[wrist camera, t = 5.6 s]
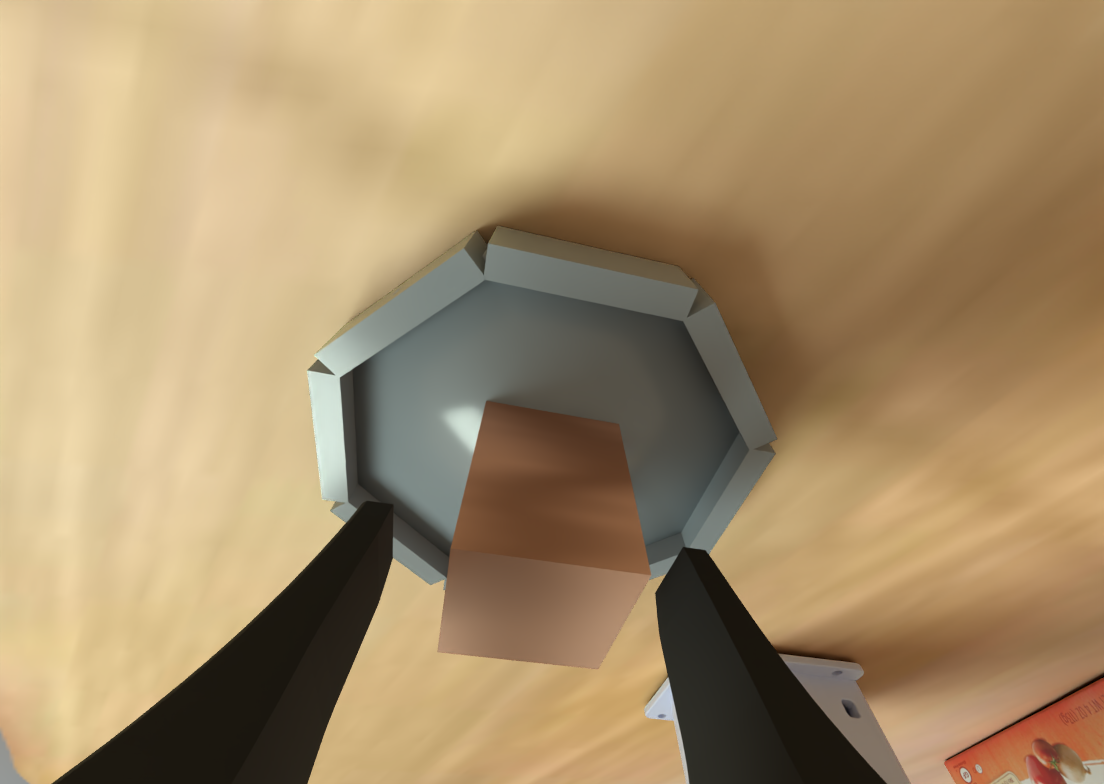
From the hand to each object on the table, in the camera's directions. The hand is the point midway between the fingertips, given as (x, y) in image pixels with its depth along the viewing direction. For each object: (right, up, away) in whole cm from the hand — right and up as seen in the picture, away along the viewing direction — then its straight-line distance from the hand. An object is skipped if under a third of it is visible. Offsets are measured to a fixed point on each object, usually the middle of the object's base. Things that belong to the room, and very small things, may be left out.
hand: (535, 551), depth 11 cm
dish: (0, +2, +4) cm, 4 cm away
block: (0, +2, +3) cm, 3 cm away
